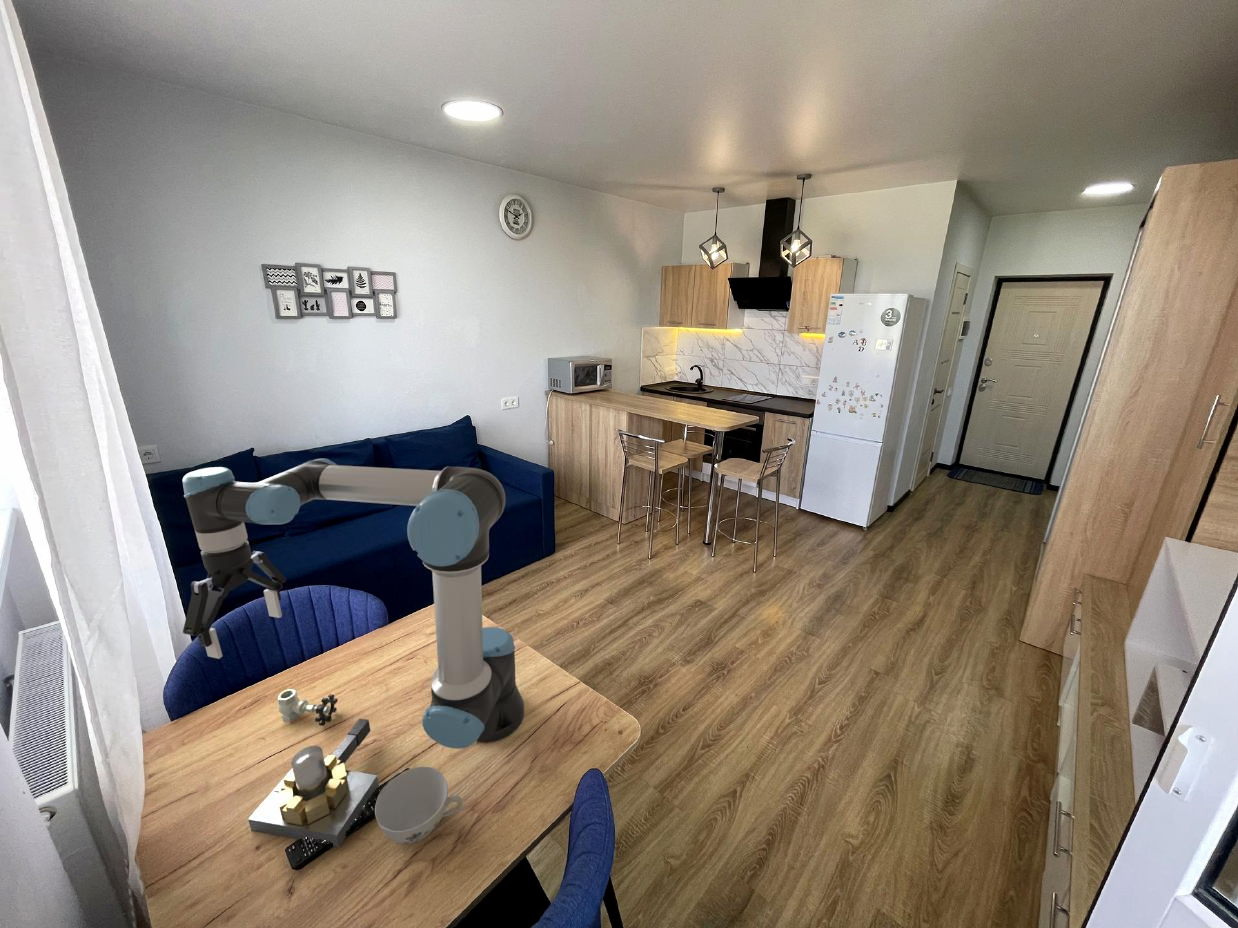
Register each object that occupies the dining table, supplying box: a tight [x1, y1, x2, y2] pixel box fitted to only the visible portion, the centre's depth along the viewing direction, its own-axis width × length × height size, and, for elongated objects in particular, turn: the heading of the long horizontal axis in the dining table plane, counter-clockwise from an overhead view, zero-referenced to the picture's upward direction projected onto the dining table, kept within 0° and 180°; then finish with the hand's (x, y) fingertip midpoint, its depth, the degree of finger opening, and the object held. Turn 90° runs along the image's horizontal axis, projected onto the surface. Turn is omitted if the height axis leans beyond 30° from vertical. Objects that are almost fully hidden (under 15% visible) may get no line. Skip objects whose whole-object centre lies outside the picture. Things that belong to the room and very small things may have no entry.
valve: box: [277, 688, 338, 727], centre depth 115 cm, size 7×7×12 cm
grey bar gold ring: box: [278, 718, 371, 825], centre depth 98 cm, size 11×21×4 cm, turn 172°
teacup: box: [374, 765, 463, 845], centre depth 91 cm, size 15×12×8 cm
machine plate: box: [247, 745, 380, 848], centre depth 93 cm, size 18×12×13 cm, turn 82°
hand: (247, 635), depth 102 cm, fingers open, 13 cm apart
